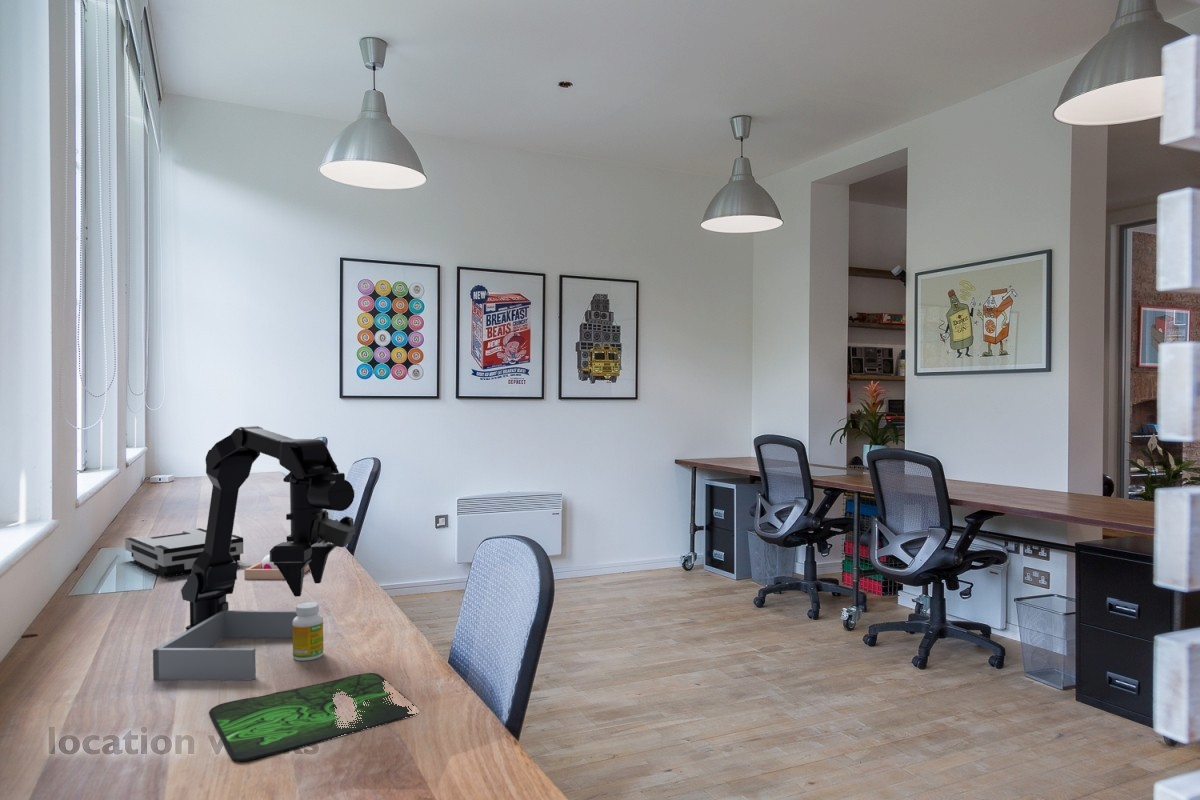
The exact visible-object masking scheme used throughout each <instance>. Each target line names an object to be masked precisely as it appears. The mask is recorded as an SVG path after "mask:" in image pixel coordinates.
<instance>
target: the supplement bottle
mask: <svg viewBox="0 0 1200 800" xmlns="http://www.w3.org/2000/svg"><path fill="white" fill-rule="evenodd" d="M295 611H296V614H297V615H298V616H297V617H295V618H294V619H293V624H292V628H293V638H292V658H293V659H294V660H295V661H301V662H306V661H313V660H317V659H319V658H321V657H322V656H323V655H324V618H323V616H322V615H321V614H319V612H320V606H319V603H318V602H315V601H314V602H313V601H312V602H311V601H310V602H303V603H299V604H297V605H296V607H295Z"/></svg>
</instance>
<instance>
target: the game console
mask: <svg viewBox="0 0 1200 800" xmlns="http://www.w3.org/2000/svg"><path fill="white" fill-rule="evenodd" d="M206 531H207V529H203V528H200V527H199V528H192V529H184V530H182V532H181V533H172V534H166V535H158V536H152V537H149V536H146V535H141V536H134V537H126V538H124V545H125V546H124V547H125V548H124V549H125V550H124V551H127V552H130V553H131V558H132V559H133V560H134V562H135V563H137V564H139V565H141V566H140V567H142V566H143V567H142V568H144V567H145V568H144V569H146V568H147V569H146V570H148V569H149V571H150V570H151V571H150V572H152V571H153V572H152V573H154V572H155V573H154V574H156V573H157V574H156V575H159V576H160V577H163V578H167V577H169V578H170V577H174V576H180V575H186V574H189V570H192V567H193V563H194V561H195V560H196V559H197V558H198V557H199V555H200V554H201V553H202V552H203V550H204V545H205V538H206ZM230 554H231V556H232V557H233V559H234V561H235V562H237V563H238V561H241V555H243V554H244V537H243V536H239V535H235V534H232V540H231V546H230ZM135 563H134V564H135ZM137 564H136V565H137ZM139 565H138V566H139Z"/></svg>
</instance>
